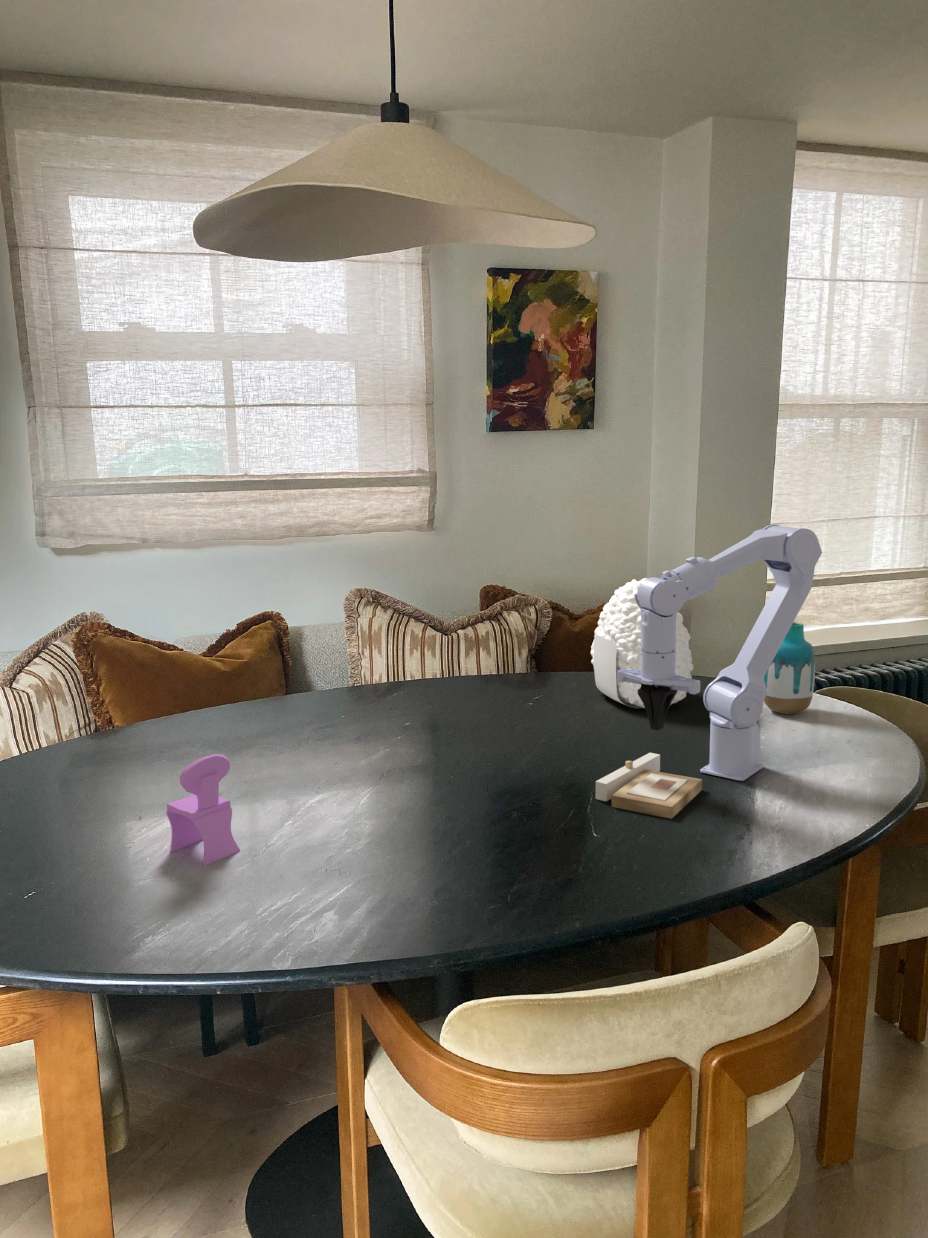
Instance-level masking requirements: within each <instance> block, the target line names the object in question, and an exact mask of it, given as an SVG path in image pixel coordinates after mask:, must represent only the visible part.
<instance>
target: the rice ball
mask: <svg viewBox="0 0 928 1238" xmlns="http://www.w3.org/2000/svg"><path fill="white" fill-rule="evenodd" d="M646 579H648V577H644V578H642V579H640V580H637V579H635V578H634V579H632V580H631V581H630V582H629V581H628V582H626V583H625V585H623V586H620V587H618V589H614V592H613V594H614V595H612V596H611V597H610V599H609V602H607V603H605V604H604V606H603V607H602V611H601V612H600V614H599V616H598V617H599V619H598V621H597V627H596V628H595V630H594V635H593V637H594V639H593V642H591V643H592V645H591V646H590V648H591V649H590V655H591V657H592V659H591V661H590V662H591V664H592V666H593V670H594V671H593V673H594V681H595V686H596V687H597V689H598V690H599V691H600V692H601V693H602V694H603V695H605V696H607V697H608V698H609V699H612V700H614V701H615V702H618V703H620V704H623V705H625V706H627V707H629V708H634V709H645V707H644V704H643V702H642V700H641V699H640V697H639V695H638V692H637V690H638V689H640V687H641V684H635V683H629V682H617V671H619V670H622V669H628V670H641V610H640V608H639V606H638V605H637V603H636V601H635V597H634V595H635V594H637V591H638V588H639V586H640V585H641V583H642V582H643V581H644V580H646ZM683 622H684V616H683V614H681V613H680V612H678V613H677V614H676V661H675V674H676V675H679V676H683V677H686V678H690V679H693V677H692V674H691V672H692V671H693V670H694V665H693V663H692V662H693V656H692V651H691V649H692V647H691V642H690V639H691V634H690V633H689V632H688V629H687V627H685V626H684V624H683ZM687 693H688V692H684V691H677V693H676V695H675V697H674V698H673V700H672V702H671V704H670V706H671V705H673V704H677V703H678V702H680V701H682V700H683V699H685V698H686V697H687Z"/></svg>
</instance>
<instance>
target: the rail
mask: <svg viewBox="0 0 928 1238" xmlns="http://www.w3.org/2000/svg"><path fill="white" fill-rule="evenodd" d="M644 770H651V771H657V772H661V754H658V753H656V752H655V753H653V752H648V753H647V754H645V755H641V757H639V758H636V759H635V760H633V761H632V760H626V761H625V765H624V766H621V767H620V768H618V769H616V770H614V771H613V772H611V773H609V774H607V775H605V776H603V777H601V778H600V779H597V780H596V781H595V799H596V800H599V801H603V802H608V801H611V800H612V795H613V794H614V793H615V792H617V791H618V790H619V789H621V788H622V787H623V786H625V785H626V784H627V783H628V782H630V781H631V780H632V779H634V778H635V777H636V776H637V775H639V774H640V773H641V772H643V771H644Z"/></svg>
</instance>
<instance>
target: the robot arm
mask: <svg viewBox="0 0 928 1238" xmlns="http://www.w3.org/2000/svg"><path fill="white" fill-rule="evenodd" d="M822 550H823V549H821V545H820V541H819V539H818V537H817V535H816V533H815V532H814V531H813V530H811V529H809V528H807V527H806V528H805V527H804V528H801V527H800V528H798V527H788V526H781V525H779V524H769V525H766V526H765V527H763V528H761V529H757V530H754V531H753V533H751V534H750V535H749V536H747V537H746V538H744V539H743V540H741V541H738V542H737V543H736V544H734V545H732V546H730V547H728V548H726V549H724V550H723V551H722V552H719V553H718V554H716V555H713V557H710V558H709V559H707V558H704V557H701V556H698V557H695V556H690V557H688V558H686V559H685V561H686V562H685V563H684V564H682V565H680V566H678V567H676V568H674V569H672V570H667V569H666V570H665V571H664V570H663V571H662V572H661V574H662V575H661V576H660V577H654V576H653V577H649V578H648V577H647V578H648V579H646V580H644V581H643V582H642V583H641V585H640V586H639V588H638V591H637V594H635V595H634V597H635V601H636V603H637V605H638V606H639V608H640V610H641V670H628V669H622V670H619V671H617V682H629V683H635V684H641V687H640V689H638V690H637V692H638V695H639V697H640V699H641V700H642V702H643V704H644V707H645V708H644V709H645V711H646V714H647V719H648V721H649V728H650V730H654V731H660V730H663V729H664V725H665V721H666V718H667V714H668V711H669V709H670V707H671V705H672V704H671V702H672V700H673V698H674V697H675V695H676V693H677V691H684V692H687V693H689V694H691V695H696V694H699V693H700V692H701V680H698V679H694V678H692V679H690V678H686V677H683V676H679V675H676V674H675V661H676V614H677V613H680V611H681V609H682V608H683V605H684V603H687V602H689V601H690V600H692V599H695V598H696V597H699V596H700V595H702V594H704V593H706V592H708V591H710V590H713V588H715V587H716V585H717V583H718V580H719V578H720V577H722V576H724V575H727V574H729V573H732V572H733V571H735V570H738V569H740V568H743V567H745V566H747V565H750V564H751V563H754V562H756V561H758V560H762V561H763V562H764V564H765V565H766V567H767V568H768V570H769V571H770V573H772V576H773V578H774V581H775V586H774V587H773V590H772V592H771V593H770V594H769V595H770V596H769V597H768V599H767V601H766V603H765V604H764V606H763V609H762V610H761V612H760V614H759V615H758V618H757V619H756V621H755V623H754V625H753V626H752V629H751V631H750V632H749V634H748V636H747V638H746V640H745V642H744V643H743V646H742V648H741V649H740V651H739V653H738V655H737V657H736V658H735V661H734V662H733V663H731V665H728V666H727V667H725V668H723V669H721V670H720V671H719V673H718V675H717V677H716V678H715V679H714V680H712V681H711V682H710V683H709V684H708V685H707V686H706V688H705V689H704V691H703V697H702V700H703V704H704V707H705V708H706V710H707V711H708V712H709V719H710V724H709V726H710V729H709V730H710V731H709V732H710V733H709V734H710V735H709V761H708V762H709V763H708V764H707V765H705V766H703V767H702V768H700V770H699V771H700V773H703V774H708V775H712V776H718V777H722V778H726V779H731V780H734V781H739V782H744V781H745V780H747V779H748V778H750V777H751V776H753V775H755V774H756V773H757V772H759V771H760V770H762V769H763V768H764V767H765V764H764V763H761V762H760V752H761V751H760V750H761V730H760V727H759V725H758V723H757V721H758V720H759V719H760V718H761V716H762V713H763V710H764V709H763V708H764V699H765V697H766V695H767V688H766V685H765V682H764V679H763V678H764V676H765V674H766V672H767V670H768V668H769V667H770V665H771V663H772V661H773V659H774V657H775V655H776V654H777V652H778V650H779V648H780V646H781V644H782V642H783V641H784V639H785V637H786V635H787V633H788V631H789V629H790V627H791V626H792V624H793V622H795V620H796V618H797V616H798V614H799V613H800V611H801V608H802V607H803V605H804V603H805V601H806V599H807V597H808V596H809V594H810V592H811V590H812V587H813V583H814V576H815V570H816V569H815V568H816V565H817V563H818V561H819V559H821V558H820V557H821V556H822V555H823V551H822ZM670 704H671V705H670Z"/></svg>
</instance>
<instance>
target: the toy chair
mask: <svg viewBox="0 0 928 1238" xmlns="http://www.w3.org/2000/svg"><path fill="white" fill-rule="evenodd" d="M230 768H231V763H230V759H229V758H228V756H227V757H226V756H225V755H224V754H218V753H217V754H216V753H213V754H210V755H207V756H203V757H200V758H198V759H197V760H195V761H193V762H192V763H190V764H189V765H188V766H186V767H185V768H184V769H183V770H182V771H181V773H180V775H179V783H180V786H181V787H182V788H183V789H184V791H185V792H186V793H189V794H192V795H190V796H188V797H185V798H182V799H178V800H174V801H172V802H168V803H166V812H165V813H166V816H167V818H168V821H169V824H170V829H171V839H170V840H171V841H170V852H175V851H177V850H180V849H183V848H185V847H187V846H190V845H193V844H195V843H198V842H200V841H202V842H203V857H202V866H204V867H205V866H208V865H210V864H212V863H215V862H217V861H220V860H222V859H224V858H227V857H229V856H231V855H233V854H236V853H238V852H240V851H241V849H240V846H238V844H237V843H236V841H235V838H234V837H233V833H232V818H233V817H232V816H233V808H232V806H231V800H230V799H227V798H225V797H220V796H219V791H220V790H219V784H220V782H221V781H222V779H223V778H224V777H225V776H227V775H228V773H229V771H230Z"/></svg>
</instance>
